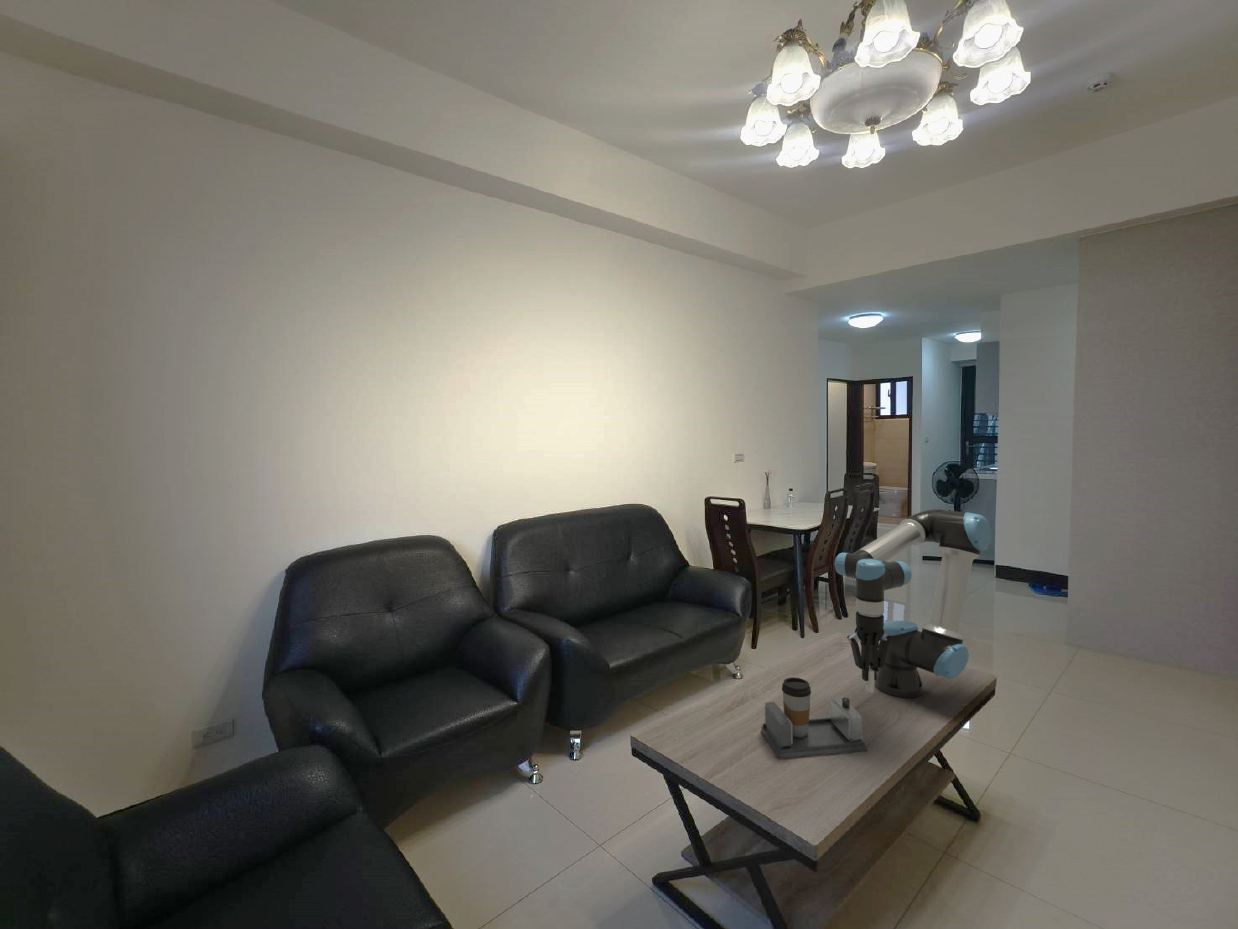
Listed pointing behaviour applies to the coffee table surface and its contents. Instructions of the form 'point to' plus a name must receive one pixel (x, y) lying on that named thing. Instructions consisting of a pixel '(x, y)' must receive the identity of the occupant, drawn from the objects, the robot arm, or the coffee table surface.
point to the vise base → (815, 742)
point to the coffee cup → (797, 704)
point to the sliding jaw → (846, 718)
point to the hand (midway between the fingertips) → (869, 690)
